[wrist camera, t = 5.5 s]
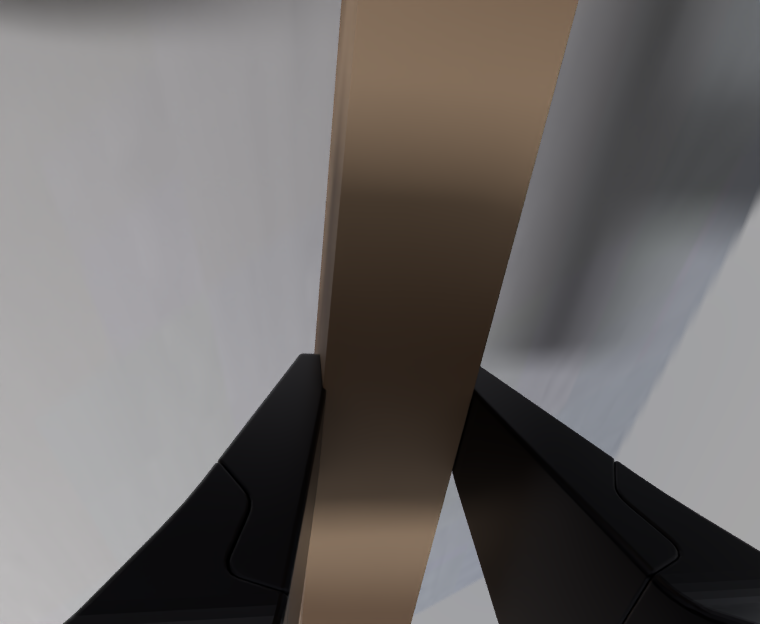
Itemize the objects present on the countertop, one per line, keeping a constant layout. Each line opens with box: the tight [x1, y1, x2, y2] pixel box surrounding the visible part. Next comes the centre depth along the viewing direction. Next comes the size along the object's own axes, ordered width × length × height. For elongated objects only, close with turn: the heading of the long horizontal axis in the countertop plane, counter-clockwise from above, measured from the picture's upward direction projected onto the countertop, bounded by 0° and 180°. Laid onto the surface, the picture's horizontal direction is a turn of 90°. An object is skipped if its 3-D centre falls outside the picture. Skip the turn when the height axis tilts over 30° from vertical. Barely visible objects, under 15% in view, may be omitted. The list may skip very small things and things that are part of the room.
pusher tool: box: [299, 0, 578, 624], centre depth 8 cm, size 21×7×4 cm, turn 172°
